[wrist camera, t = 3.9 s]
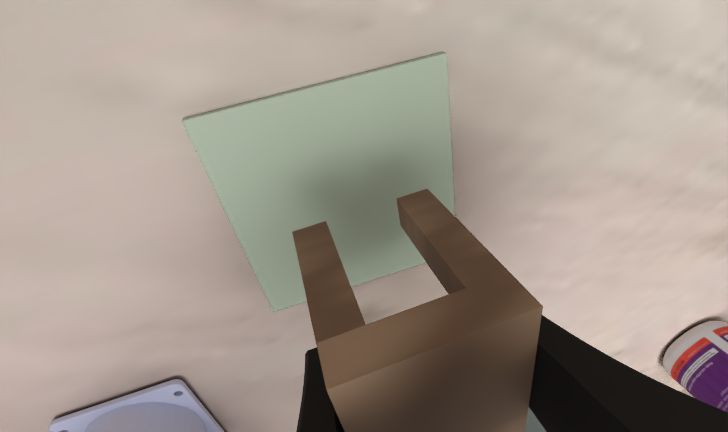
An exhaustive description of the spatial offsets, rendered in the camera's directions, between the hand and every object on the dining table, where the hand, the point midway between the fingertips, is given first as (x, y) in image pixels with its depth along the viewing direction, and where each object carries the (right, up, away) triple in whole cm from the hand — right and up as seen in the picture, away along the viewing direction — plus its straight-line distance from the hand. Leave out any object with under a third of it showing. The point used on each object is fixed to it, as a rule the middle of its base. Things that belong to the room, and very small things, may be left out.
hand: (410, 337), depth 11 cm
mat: (-2, +5, +8) cm, 10 cm away
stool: (-1, +1, +3) cm, 3 cm away
